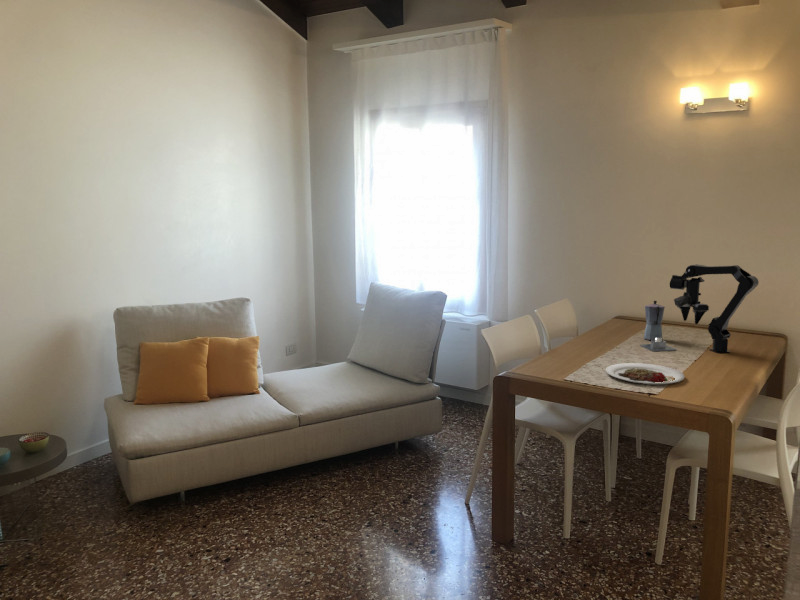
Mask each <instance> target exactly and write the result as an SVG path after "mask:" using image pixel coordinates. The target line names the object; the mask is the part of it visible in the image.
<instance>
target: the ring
mask: <svg viewBox="0 0 800 600" xmlns="http://www.w3.org/2000/svg"><path fill="white" fill-rule="evenodd" d="M666 343H667V341H666V340H664V339H662V342H656V341H655V339H653V340H650V344H651V346H650V347H653V348H665V347H666V345H667V344H666Z"/></svg>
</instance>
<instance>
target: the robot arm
mask: <svg viewBox="0 0 800 600" xmlns="http://www.w3.org/2000/svg"><path fill="white" fill-rule="evenodd" d="M705 275H732V276H733V278H734V279H735V280H736V281H737V282H738V286H737V289H736V292H735V294H734V295H733V296H732V298H731V299H730V301H729V302H728V304H727V305H726V307H725V308H724V309H723V311H722V312H721V314H719V315H720V316H715V317H713V318H712V319H711V322H710V323H709V324H708V327H707V330H708V333H709V334H710V336H711V339H712V348H709V351H711V352H714V353H717V354H725V353H731V351H730V350H728V347H729V346H728V344H729V340H728V339H730V338H731V335H732V334H731V332H729V330H728V329H727V328H728V326H729V322H730V319H731V318H732V316H733V315H734V314H735V313H736V311H737V310H738V308H739V306H740V305H741V304H742V302H743V301H744V300H745V298H746V297H747V296H748V295H749V294H750V293H752V292H753V291H754V290H755V289H756V288H757V287H758V286H759V278H757V277H756V276H754V275H752V274H750V273H749V272H748V271H746V270H744V269H743V268H742V267H741V266H739V265H738V264H737V265H736V264H734V265H715V266H714V265H713V266H710V265H704V264H691V265H688V266H687V267H686V269H685V271H684V272H683V274H682V275H678V274H672V275H671V279H670V280H669V281H670V282H669V287H670V288H669V289H674V290H683V291H684V289H685V291H684V292H683V295H682V296H678V297H676V298H673V302H674V305H675V306H676V307H677V308H678V309H679V310H680V312H681V314H682V319H683V321H685V322H686V321H687V320H688V317H689V313H690V310H691V308H692V312H693V313H694V324H695V325H699V322H700V321H701V319H702V318H703V316H704V315H705V314H706V313H707V312H709V310H710V306H709V305H708V304H706V303H701V301H700V300H699V299H700V296H701V295H702V293H701V292H700V286H701V285H700V283H704V282H705V279H704V278H703V277H702V276H705Z"/></svg>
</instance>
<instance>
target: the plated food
mask: <svg viewBox="0 0 800 600" xmlns="http://www.w3.org/2000/svg"><path fill="white" fill-rule="evenodd" d="M605 372H606V373H607V374H608V375H609V376H612V377H613V378H615V379H619V380H622V381H626V382H629V383H634V384H640V383H643V385H666V384H674V383H679V382H681V381H683V380H684V379H685V374H684V373H683V372H681V371H679V370H677V369H674V368H671V367H668V366H663V365H658V364H651V363H650V364H649V363H641V362H638V363H637V362H629V363H628V362H625V363H616V364H612V365H608V366H607V367H606V368H605ZM666 376H673V377H674V378H675V380H673V381H672V380H671V381H670V380H669V381H670V382H663V381H668V379H667V378H666ZM655 382H661V383H655ZM662 382H663V383H662Z"/></svg>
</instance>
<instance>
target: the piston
mask: <svg viewBox="0 0 800 600" xmlns="http://www.w3.org/2000/svg"><path fill="white" fill-rule="evenodd" d="M662 340H663V337H662V338H660V337H656V338H655V341H656V342H662ZM639 346H640V347H642V348H644V349H647V350H649V351H651V352H670V351H671V352H673V351H677V348H674V347H672V346H669V345H667V344H666V347H665V348H653V347H650V346H651V343H647V344H646V343H645V344H639Z"/></svg>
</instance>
